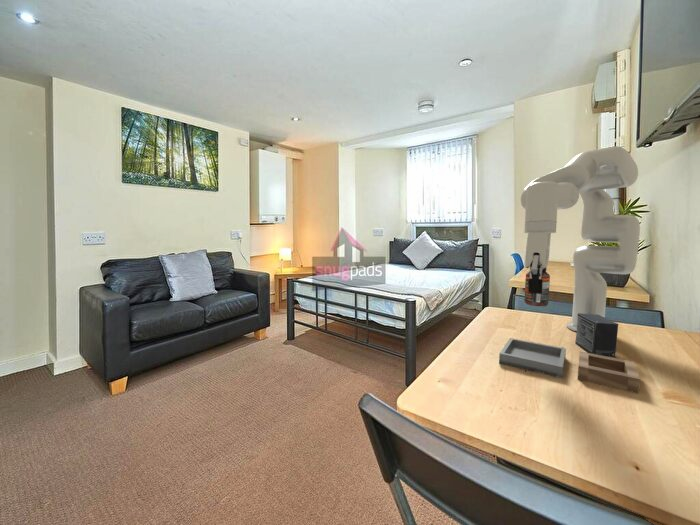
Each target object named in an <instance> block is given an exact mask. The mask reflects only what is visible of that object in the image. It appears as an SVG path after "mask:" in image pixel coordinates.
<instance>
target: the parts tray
mask: <svg viewBox="0 0 700 525" xmlns="http://www.w3.org/2000/svg"><path fill="white" fill-rule="evenodd" d="M566 352H567V348H565V347H560V346H554V345H550V344H543V343H539V342H533V341H528V340H523V339H518V338H513V337H510V338H509V339H508V340H507V341H506V343H505V344H504V346H503V348H502V349H501V351H499V355H498V356H499V357H498V358H499V359H498V361H499V362H498V364H501V365H504V366H510V367H514V368H517V369H522V370H526V371H531V372H534V373H539V374H543V375H547V376H552V377H555V378H560V379H563V374H564V369H565V363H566V362H565V361H566V354H567V353H566Z"/></svg>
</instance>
